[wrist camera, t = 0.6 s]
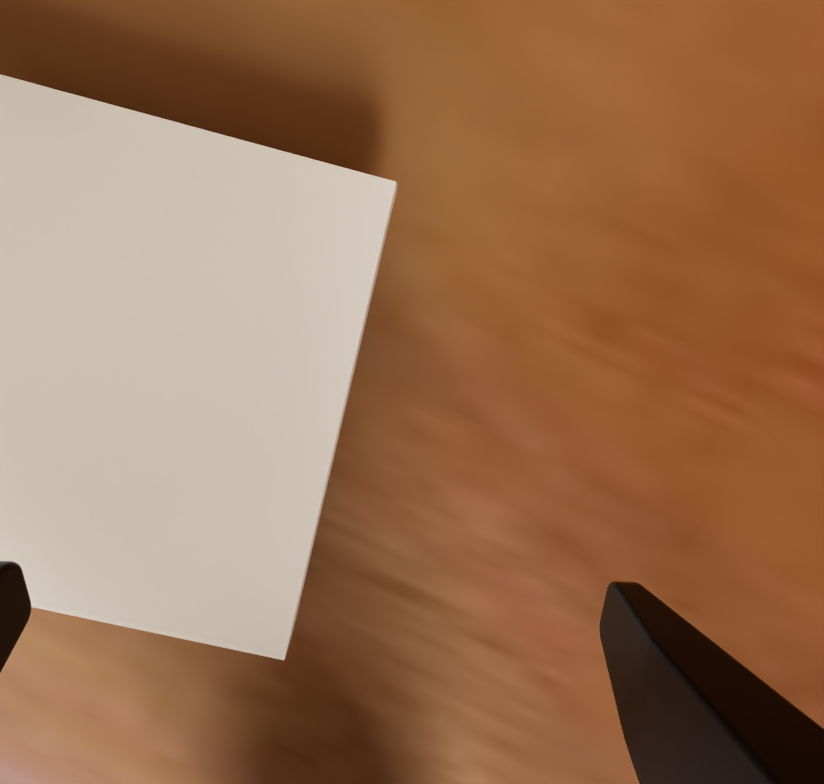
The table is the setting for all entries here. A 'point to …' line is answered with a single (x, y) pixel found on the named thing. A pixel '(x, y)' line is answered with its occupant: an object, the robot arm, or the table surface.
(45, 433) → the white slab
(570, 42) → the table surface
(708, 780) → the robot arm
